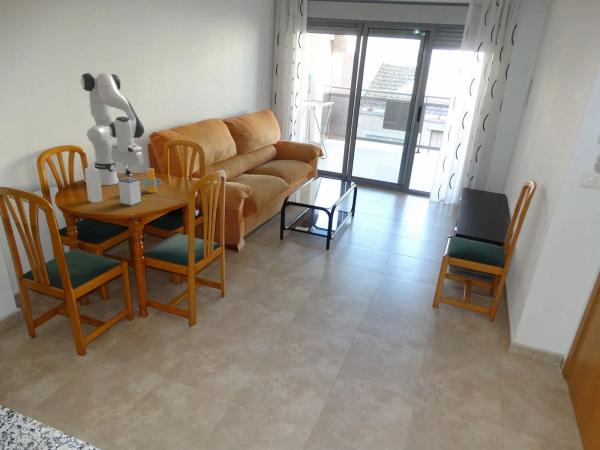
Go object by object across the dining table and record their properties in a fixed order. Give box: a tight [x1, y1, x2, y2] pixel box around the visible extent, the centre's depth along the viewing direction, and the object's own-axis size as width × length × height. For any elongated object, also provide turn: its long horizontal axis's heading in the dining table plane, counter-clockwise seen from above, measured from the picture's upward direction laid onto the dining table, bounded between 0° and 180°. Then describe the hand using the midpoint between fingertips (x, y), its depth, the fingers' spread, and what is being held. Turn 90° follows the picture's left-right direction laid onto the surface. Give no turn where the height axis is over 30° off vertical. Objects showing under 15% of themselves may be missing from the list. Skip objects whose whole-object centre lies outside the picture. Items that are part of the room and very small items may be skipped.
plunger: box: [124, 170, 133, 180], centre depth 242 cm, size 5×5×19 cm
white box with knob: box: [118, 176, 142, 207], centre depth 244 cm, size 8×12×15 cm, turn 159°
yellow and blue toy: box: [140, 167, 162, 194], centre depth 266 cm, size 12×10×15 cm
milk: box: [84, 163, 103, 204], centre depth 241 cm, size 6×6×22 cm
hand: (128, 170), depth 238 cm, fingers closed, pressing on plunger
